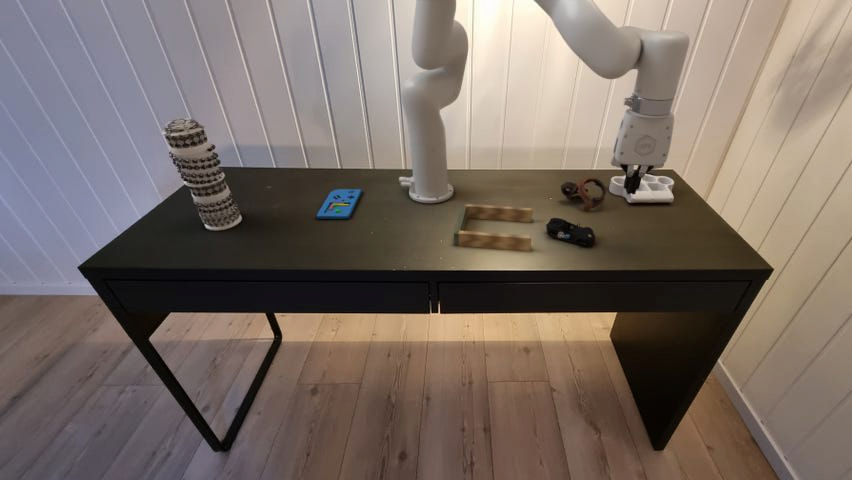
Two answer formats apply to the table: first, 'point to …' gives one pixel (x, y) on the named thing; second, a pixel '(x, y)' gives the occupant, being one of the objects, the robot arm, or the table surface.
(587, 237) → the toy car
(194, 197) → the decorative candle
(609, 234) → the table surface
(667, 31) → the robot arm
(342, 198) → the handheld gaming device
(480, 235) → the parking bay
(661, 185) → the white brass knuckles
